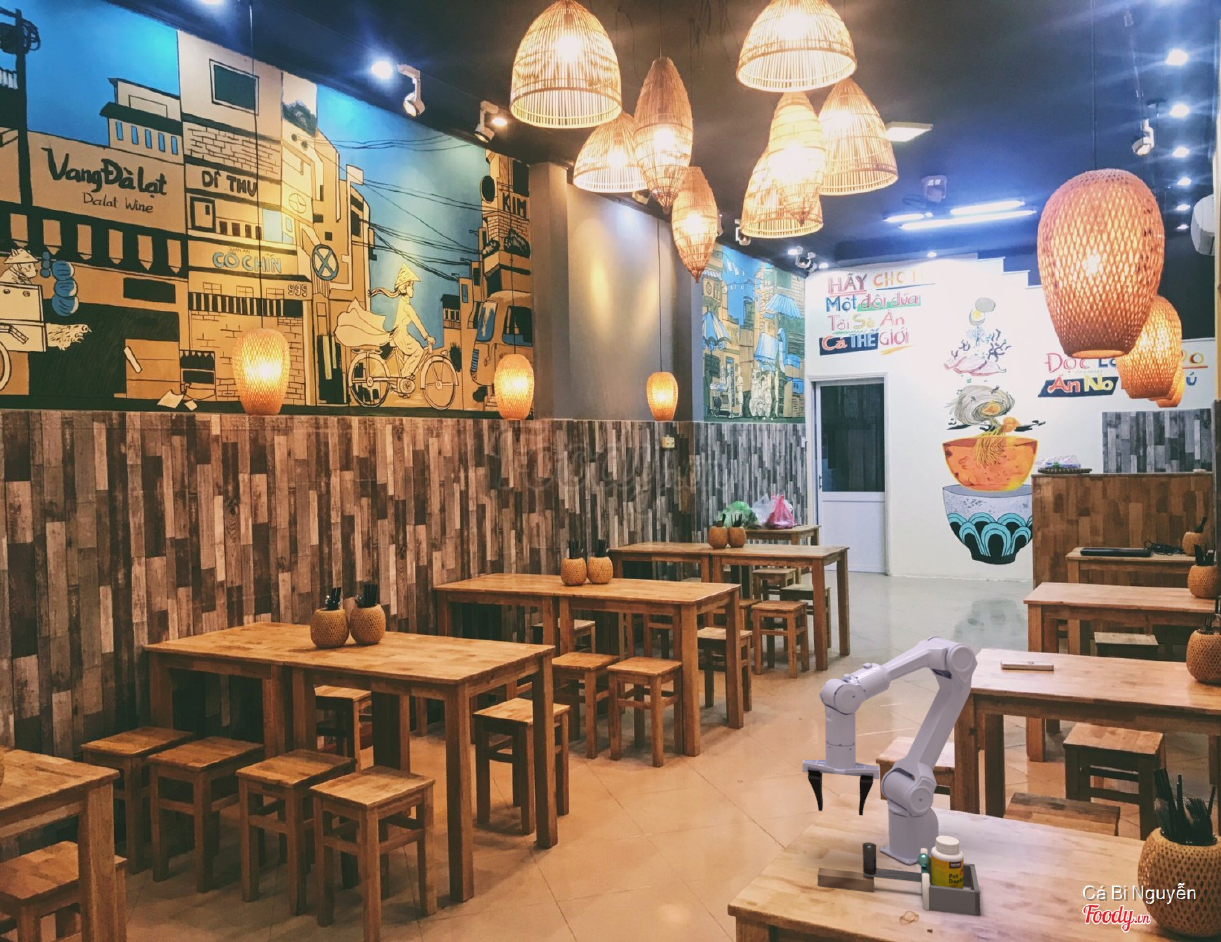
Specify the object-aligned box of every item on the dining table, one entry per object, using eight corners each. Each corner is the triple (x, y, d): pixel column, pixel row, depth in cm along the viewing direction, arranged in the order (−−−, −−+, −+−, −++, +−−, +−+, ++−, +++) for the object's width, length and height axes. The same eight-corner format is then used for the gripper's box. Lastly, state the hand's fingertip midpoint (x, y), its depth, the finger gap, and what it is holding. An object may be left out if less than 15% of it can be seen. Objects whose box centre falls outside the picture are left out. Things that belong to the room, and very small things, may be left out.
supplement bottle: (949, 906, 160) (949, 849, 160) (923, 893, 165) (924, 837, 165) (970, 898, 163) (970, 842, 163) (944, 886, 168) (945, 831, 168)
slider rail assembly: (862, 893, 165) (861, 852, 165) (864, 876, 172) (863, 836, 172) (932, 901, 161) (931, 859, 161) (930, 883, 168) (930, 843, 168)
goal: (922, 909, 159) (922, 875, 159) (921, 879, 171) (920, 847, 171) (980, 916, 157) (979, 881, 157) (974, 885, 168) (974, 853, 168)
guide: (817, 886, 169) (817, 874, 169) (819, 878, 172) (819, 867, 172) (873, 892, 166) (873, 880, 166) (874, 885, 169) (873, 873, 169)
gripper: (800, 744, 176) (801, 814, 176) (878, 751, 172) (878, 823, 172) (804, 734, 183) (804, 802, 183) (879, 740, 179) (879, 809, 179)
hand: (840, 811), depth 178 cm, fingers open, 7 cm apart
